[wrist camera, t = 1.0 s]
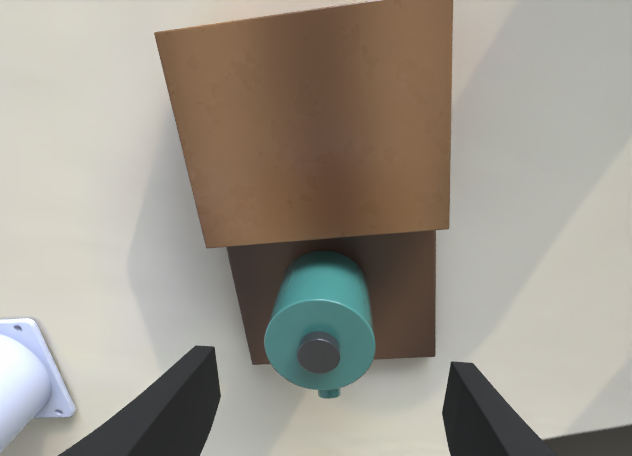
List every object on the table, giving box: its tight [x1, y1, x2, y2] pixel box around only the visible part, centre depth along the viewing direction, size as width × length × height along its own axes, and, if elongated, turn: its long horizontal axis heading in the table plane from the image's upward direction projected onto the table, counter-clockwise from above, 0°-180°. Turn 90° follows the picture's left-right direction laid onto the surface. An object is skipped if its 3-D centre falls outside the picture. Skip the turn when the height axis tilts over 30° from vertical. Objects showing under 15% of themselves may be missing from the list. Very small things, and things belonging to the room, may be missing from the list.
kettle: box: [264, 251, 376, 398], centre depth 18 cm, size 7×5×5 cm
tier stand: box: [154, 0, 453, 365], centre depth 18 cm, size 11×18×3 cm, turn 6°
